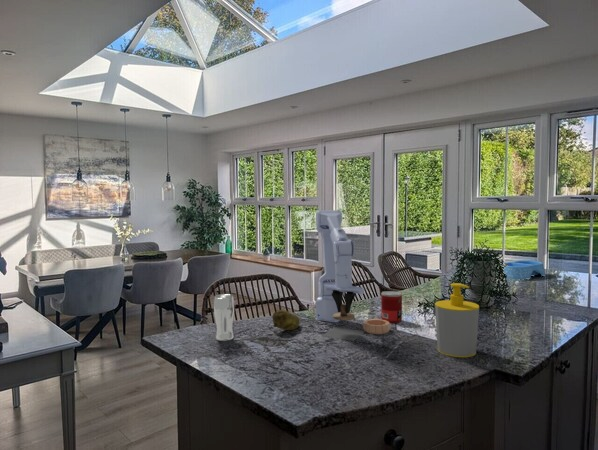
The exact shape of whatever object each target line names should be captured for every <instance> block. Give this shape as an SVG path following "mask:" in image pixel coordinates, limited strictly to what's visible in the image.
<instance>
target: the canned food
mask: <svg viewBox="0 0 598 450" xmlns="http://www.w3.org/2000/svg"><path fill="white" fill-rule="evenodd" d="M380 293H381V296H380V297H381V299H380V300H381V302H380V305H381V306H380V307H381V308H380V309H381V310H380V311H381V318H380V319H382V320H386V321H388V322H389V323H390V324H398V323H401V322H402V320H403V294H402V292H400V291H395V290H394V291H393V290H390V291H389V290H386V291H382V292H380Z"/></svg>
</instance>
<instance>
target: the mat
mask: <svg viewBox="0 0 598 450" xmlns="http://www.w3.org/2000/svg"><path fill="white" fill-rule="evenodd" d="M365 333H367V332H366V331H364V330H362V329H353V328H345V327H339V326H335V327H333V328H331V329H329V331H327V332H326V333H324V334H322V335H321V337H323V338H324V337H325V338H331V339H332V338H333V339H337V340H346V341H351V342H354V341H355V340H357V339H358V338H360V337H361V336H362V335H363V334H365Z"/></svg>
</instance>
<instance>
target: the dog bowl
mask: <svg viewBox="0 0 598 450" xmlns="http://www.w3.org/2000/svg"><path fill="white" fill-rule="evenodd" d="M504 264H508V266H506V267H505V268H504V273H505V274H506V275H507V279H506V280H508V279H526V278H531V279H532V277H531V275H538V274H539V273H540V274H539V275H541V277H542V276H543V275H546V276H547V273H546V271H545V265H544V262H541V261H536V260H514V261H507V262H504ZM539 275H538V276H539Z"/></svg>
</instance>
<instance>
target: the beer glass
mask: <svg viewBox="0 0 598 450" xmlns="http://www.w3.org/2000/svg"><path fill="white" fill-rule="evenodd" d="M213 299H214V300H213V313H214V314H213V315H214V320H215V323H216V336H215V340H216V341H220V342H227V341H232V340H234V333H233V323H234V322H233V321H234V316H235V301H234V294H230V293H220V294H216V295H214V298H213Z"/></svg>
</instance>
